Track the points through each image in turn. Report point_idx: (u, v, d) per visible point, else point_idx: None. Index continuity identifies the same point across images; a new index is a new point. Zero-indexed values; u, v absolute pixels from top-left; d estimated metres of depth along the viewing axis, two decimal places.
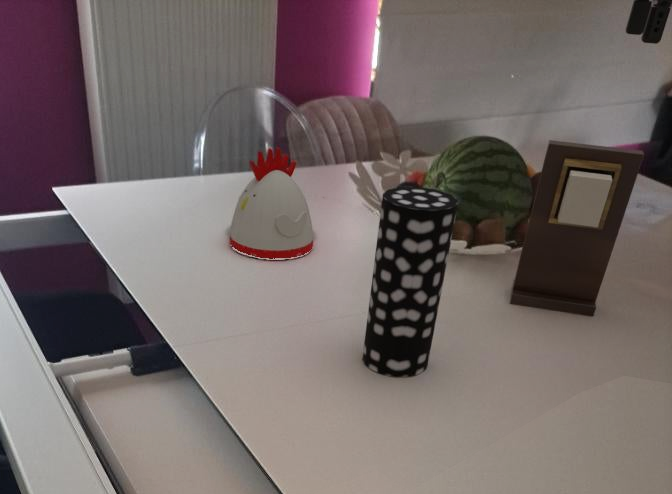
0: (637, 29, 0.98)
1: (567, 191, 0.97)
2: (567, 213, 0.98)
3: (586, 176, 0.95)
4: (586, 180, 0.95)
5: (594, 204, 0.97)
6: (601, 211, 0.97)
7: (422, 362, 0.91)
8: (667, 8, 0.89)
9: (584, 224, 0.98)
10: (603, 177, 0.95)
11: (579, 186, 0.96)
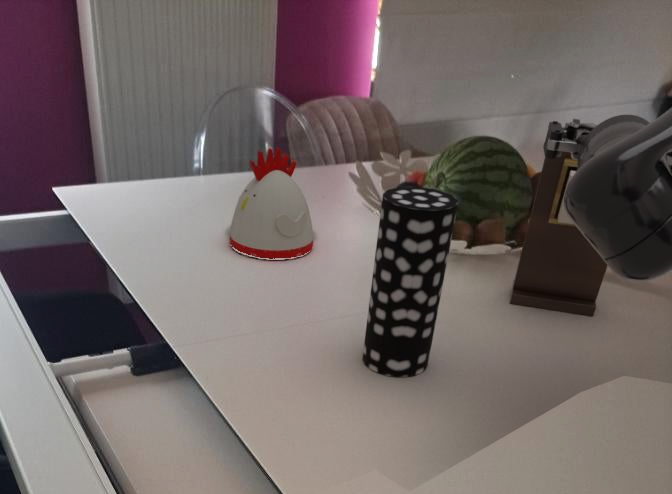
0: None
1: None
2: None
3: None
4: None
5: None
6: None
7: (422, 362, 0.91)
8: None
9: None
10: None
11: None
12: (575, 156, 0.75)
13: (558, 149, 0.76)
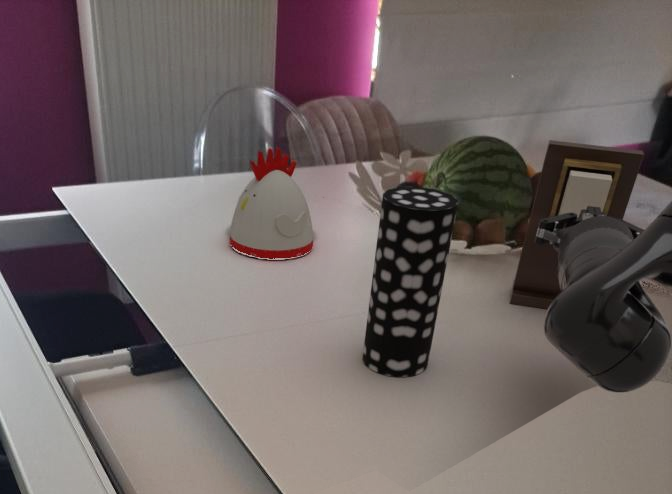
0: None
1: (567, 191, 0.97)
2: None
3: (586, 176, 0.95)
4: (586, 180, 0.95)
5: (594, 204, 0.97)
6: (601, 211, 0.97)
7: (422, 362, 0.91)
8: None
9: None
10: (603, 177, 0.95)
11: (579, 186, 0.96)
12: (556, 248, 0.81)
13: (542, 236, 0.82)
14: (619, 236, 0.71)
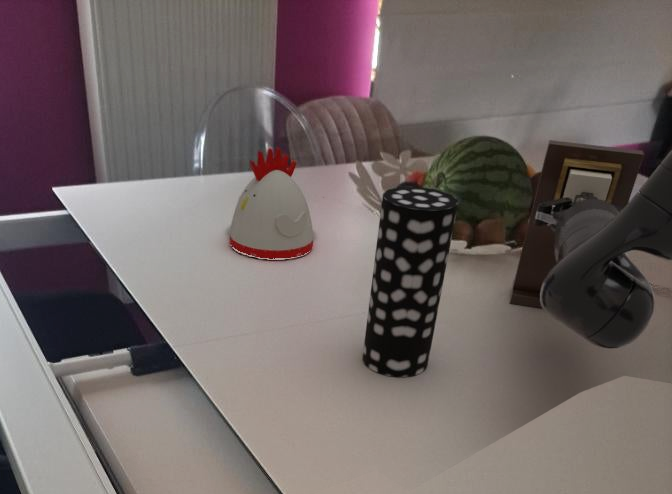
0: None
1: (567, 189, 0.97)
2: None
3: (586, 174, 0.96)
4: (586, 178, 0.96)
5: None
6: None
7: (422, 362, 0.91)
8: None
9: None
10: (603, 175, 0.96)
11: (579, 184, 0.96)
12: (553, 229, 0.90)
13: (541, 219, 0.92)
14: (608, 216, 0.81)
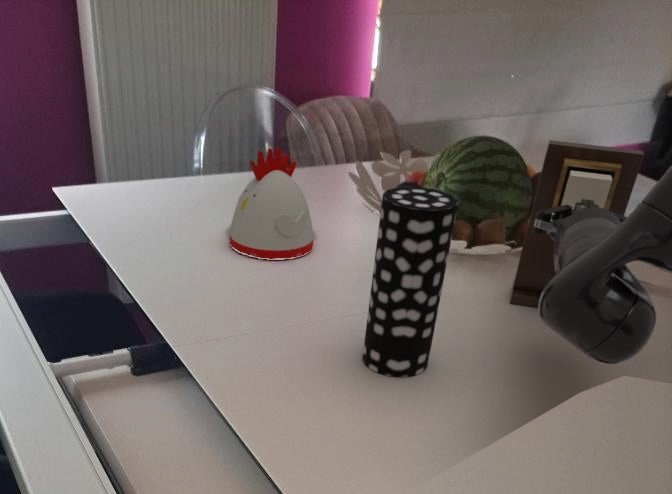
0: None
1: (567, 191, 0.97)
2: None
3: (586, 176, 0.95)
4: (586, 180, 0.95)
5: None
6: None
7: (422, 362, 0.91)
8: None
9: None
10: (603, 177, 0.95)
11: (579, 186, 0.96)
12: (552, 238, 0.87)
13: (540, 227, 0.89)
14: (609, 225, 0.78)
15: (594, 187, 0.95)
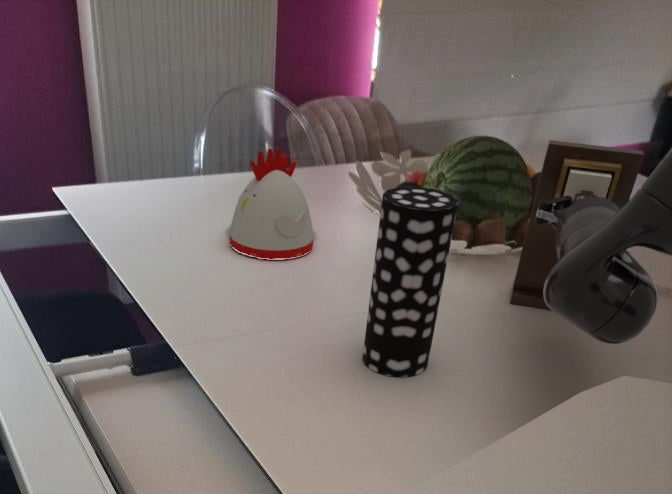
0: None
1: (567, 188, 0.98)
2: None
3: (586, 173, 0.96)
4: (585, 177, 0.96)
5: None
6: None
7: (422, 362, 0.91)
8: None
9: None
10: (602, 174, 0.96)
11: (579, 183, 0.97)
12: (554, 227, 0.90)
13: (541, 217, 0.92)
14: (610, 213, 0.81)
15: (594, 184, 0.97)
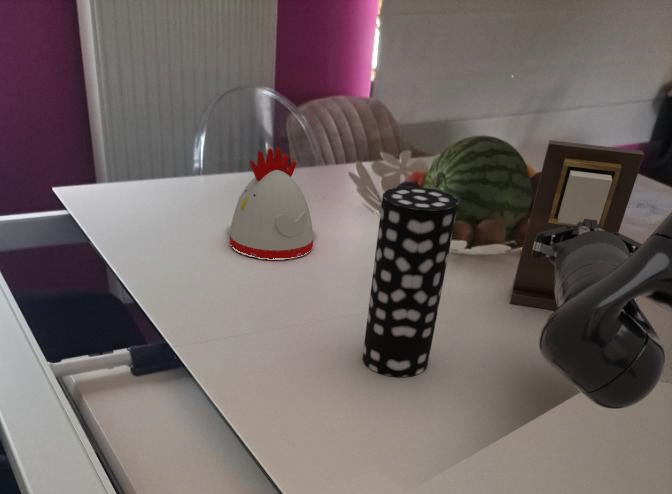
0: None
1: (567, 191, 0.97)
2: (567, 213, 0.98)
3: (586, 176, 0.95)
4: (586, 180, 0.95)
5: (594, 204, 0.97)
6: (601, 211, 0.97)
7: (422, 362, 0.91)
8: None
9: None
10: (603, 177, 0.95)
11: (579, 186, 0.96)
12: (552, 262, 0.81)
13: (539, 250, 0.83)
14: (614, 252, 0.72)
15: (594, 187, 0.95)
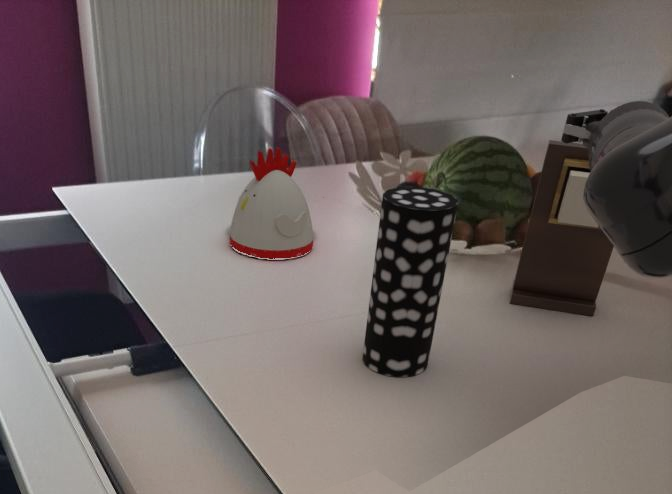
0: None
1: (567, 191, 0.97)
2: (567, 213, 0.98)
3: (586, 176, 0.95)
4: (586, 180, 0.95)
5: None
6: None
7: (422, 362, 0.91)
8: None
9: (584, 224, 0.98)
10: None
11: (579, 186, 0.96)
12: (585, 144, 0.74)
13: (570, 133, 0.75)
14: (660, 116, 0.64)
15: None
